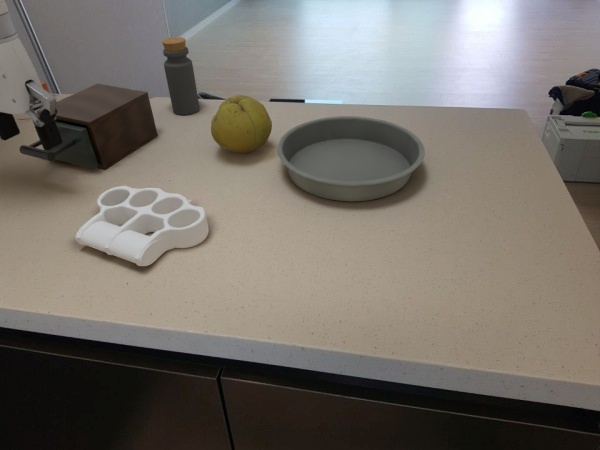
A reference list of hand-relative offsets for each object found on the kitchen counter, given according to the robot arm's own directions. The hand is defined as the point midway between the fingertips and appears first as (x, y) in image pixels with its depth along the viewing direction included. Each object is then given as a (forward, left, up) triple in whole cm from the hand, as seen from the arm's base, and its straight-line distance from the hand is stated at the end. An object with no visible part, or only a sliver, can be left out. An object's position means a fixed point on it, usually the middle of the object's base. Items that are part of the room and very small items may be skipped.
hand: (32, 141), depth 73 cm
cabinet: (+11, +9, -8) cm, 16 cm away
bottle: (+29, +19, -8) cm, 36 cm away
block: (-1, +41, -8) cm, 42 cm away
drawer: (+7, +6, -7) cm, 11 cm away
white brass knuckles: (+13, -22, -8) cm, 26 cm away
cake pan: (+48, -20, -8) cm, 52 cm away
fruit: (+34, -5, -8) cm, 35 cm away
